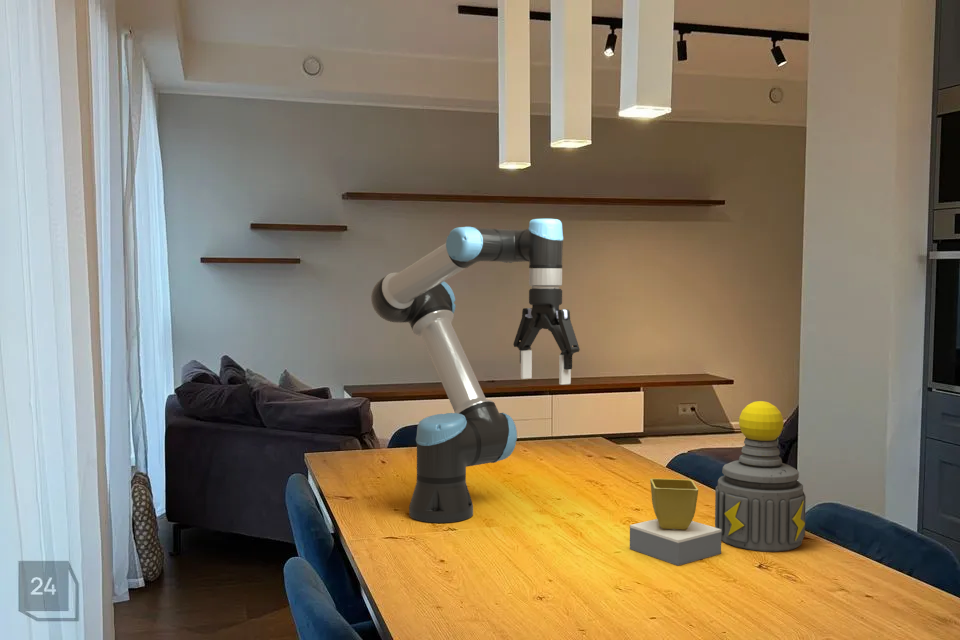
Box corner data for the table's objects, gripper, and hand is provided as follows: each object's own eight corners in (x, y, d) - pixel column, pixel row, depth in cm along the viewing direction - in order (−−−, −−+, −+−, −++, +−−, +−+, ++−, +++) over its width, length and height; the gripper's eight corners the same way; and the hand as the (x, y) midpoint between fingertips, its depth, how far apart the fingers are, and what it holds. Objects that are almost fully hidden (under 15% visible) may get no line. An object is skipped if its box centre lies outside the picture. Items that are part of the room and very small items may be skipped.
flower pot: (691, 521, 181) (692, 479, 181) (698, 533, 173) (698, 489, 172) (649, 520, 182) (649, 478, 182) (653, 532, 174) (654, 487, 173)
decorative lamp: (695, 537, 187) (697, 400, 185) (745, 522, 199) (747, 393, 198) (774, 559, 172) (777, 410, 171) (822, 541, 184) (825, 402, 183)
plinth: (678, 565, 168) (678, 540, 168) (629, 548, 179) (629, 525, 179) (721, 553, 176) (721, 529, 176) (672, 538, 186) (672, 515, 186)
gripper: (596, 288, 187) (595, 385, 188) (523, 287, 207) (523, 375, 208) (570, 288, 182) (569, 387, 183) (499, 287, 203) (498, 377, 204)
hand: (545, 381), depth 196 cm, fingers open, 13 cm apart
